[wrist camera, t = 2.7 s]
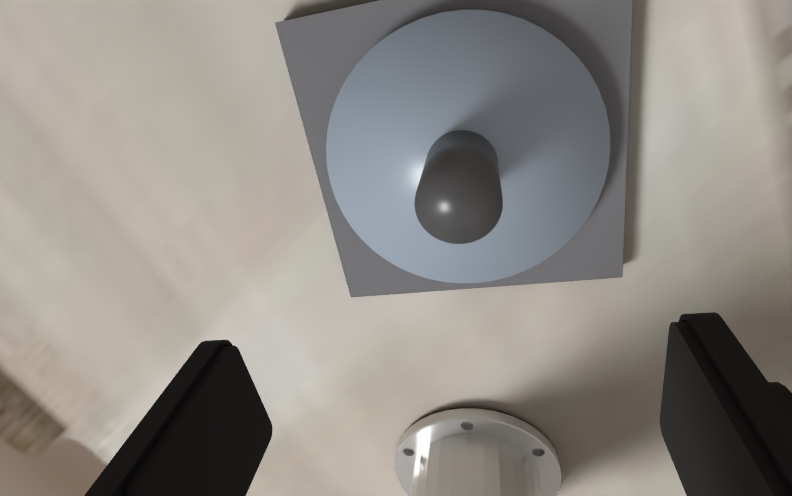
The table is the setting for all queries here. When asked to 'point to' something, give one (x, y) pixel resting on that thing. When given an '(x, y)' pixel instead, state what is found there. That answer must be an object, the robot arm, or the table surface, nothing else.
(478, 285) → the mat
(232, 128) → the table surface
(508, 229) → the lid
